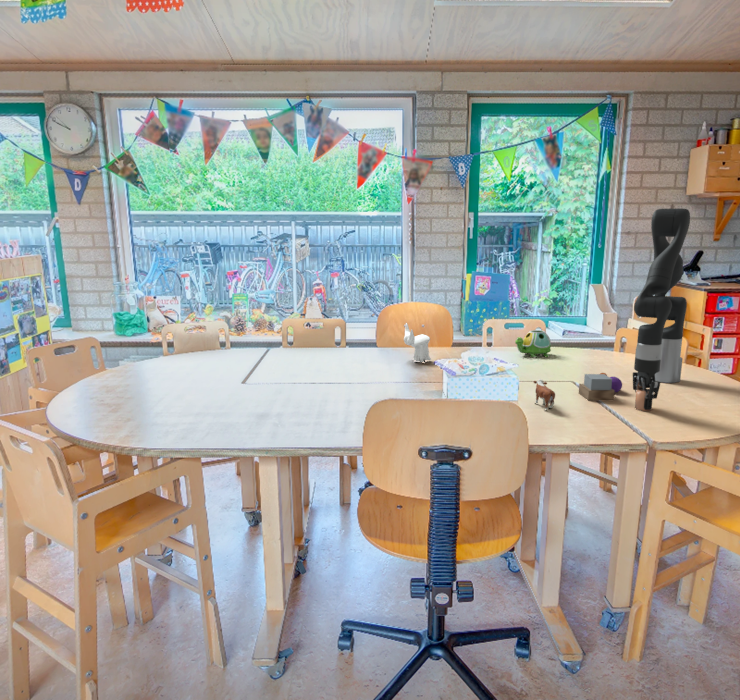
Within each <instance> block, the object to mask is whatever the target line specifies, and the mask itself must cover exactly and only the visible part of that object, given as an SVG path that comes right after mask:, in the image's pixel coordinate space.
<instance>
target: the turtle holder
mask: <svg viewBox="0 0 740 700" xmlns="http://www.w3.org/2000/svg"><path fill="white" fill-rule="evenodd" d="M515 344H516V348H517V350H518V352H520V353H521V354H524V353H527V354H530V357H531V358H533V357H537V358H538V356H537V354H539V355H543V357H545V356H547V357H548V356H549V357H550V354H548V353H550V352H551V351H552V349H551V348H552V342H551V338H550V337H549V335H548V334H547V332H546V331H545V330H542V329H539V330H537V329H536V330H534V329H533V330H532V329H531V330H529V331H528V333H527V334H525V336H524V338H522V337H520V336H518V337H517V338H516V340H515ZM547 357H546V358H547ZM549 357H548V358H549Z"/></svg>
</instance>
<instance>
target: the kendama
mask: <svg viewBox="0 0 740 700" xmlns="http://www.w3.org/2000/svg"><path fill="white" fill-rule="evenodd" d="M599 374H605V375H606V376H608V374H607V373H606V372H601V373H599ZM608 377H609V378H611V379H612V386H611V388H612V389H613V390H615V392H616V393H619V391H621V389H622V388H623V383H622V380H621V379H620V377H617V376H608Z"/></svg>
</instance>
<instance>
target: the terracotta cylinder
mask: <svg viewBox="0 0 740 700" xmlns="http://www.w3.org/2000/svg"><path fill="white" fill-rule="evenodd" d="M648 392H649V391H648ZM644 399H645V394H644V392H643V389H639V390H636V392H635V402H634V409H635V408H636V409H635V410H637V409H638V410H637V411H640V410H642V412H651V411H652V409H653V407H652V408H651V410H645V409H644ZM653 400H654V399H652V401H653Z"/></svg>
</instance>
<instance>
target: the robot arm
mask: <svg viewBox="0 0 740 700" xmlns="http://www.w3.org/2000/svg"><path fill="white" fill-rule="evenodd" d="M690 213H691V212H690V211H689V209H687V208H680V207H679V208H659V209H656V210H655V211H654V212H653V214H652V216H651V222H650V224H651V236H652V245H653V261H652V263H651V264H650V267H649V269H648V273H647V276H646V281H645V284H644V286H643V288H642V290H641V292H640V293H639V294H638V296H637V297H636V300H635V301H634V305H633V310H634V313H635V315H636V316H637V317H641V318H650V319H652V318H653V319H656V320H655V322H653V323H649V324H646V323H645V324H642V325H640V326H639V327H638V331H637V342H636V346H635V353H634V354H635V356H634V365H633V366H634V367H633V370H635V371H634V372H632V390H633V391H634V392H635V393H636V390H639V389H643V392H644V394H645V399H644V409H645V410H651V408H652V409H653V407H652V406H653V400H654V399H658V394H659V391H660V386H661V383H666V384H674V383H675V384H676V383H679V382H681V379H682V378H681V377H682V376H681V374H682V367H683V360H684V359H683V357H681V353H682V345H683V338H684V337H683V336H684V335H683V333H684V323H685V319H686V313H687V306H688V303H687V302H688V301H687V299H686V297H684V296H667V293H669V291H671V290H672V289H673V288H674V287H675V286H676V285H677V284H678V283H679V282H680V281H681V279H682V278H683V274H684V273H683V272H684V261H683V257H682V255H681V254H680V252H681V251H682V248H683V245H684V242H685V240H686V237H687V235H688V231H689V229H690V223H691V214H690ZM668 237H669V238H673V239H672V240H671V242H669V241H668V240H667V238H668ZM667 321H674V323H673V324H671V325H669V326H666V327H665V325H666V323H667ZM648 391H649V392H648ZM652 399H653V400H652ZM651 411H652V410H651Z"/></svg>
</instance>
